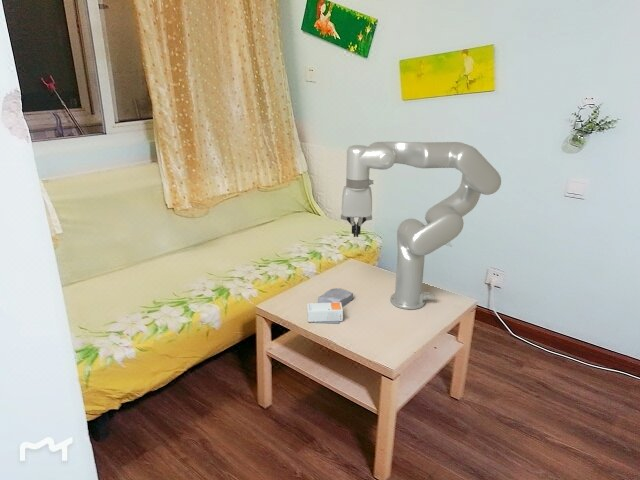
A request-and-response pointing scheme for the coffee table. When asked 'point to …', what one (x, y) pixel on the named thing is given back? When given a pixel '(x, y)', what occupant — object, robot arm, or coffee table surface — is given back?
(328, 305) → the skincare box
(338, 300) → the stone block
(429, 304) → the coffee table surface
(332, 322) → the pad
